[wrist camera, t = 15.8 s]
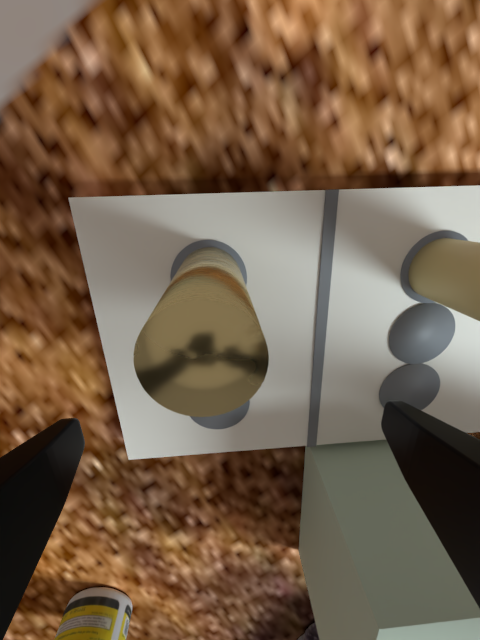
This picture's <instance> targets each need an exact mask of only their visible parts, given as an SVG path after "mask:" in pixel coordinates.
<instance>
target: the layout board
mask: <svg viewBox="0 0 480 640" xmlns="http://www.w3.org/2000/svg"><path fill="white" fill-rule="evenodd" d="M68 199H69V204H70V208H71V212H72V217H73V221H74V225H75V230H76V234H77V238H78V243H79V247H80V251H81V256H82V260H83V264H84V269H85V273H86V277H87V282H88V286H89V290H90V295H91V299H92V303H93V308H94V312H95V316H96V321H97V325H98V329H99V334H100V338H101V342H102V347H103V351H104V355H105V360H106V364H107V368H108V373H109V377H110V381H111V386H112V390H113V394H114V399H115V403H116V407H117V412H118V416H119V420H120V425H121V429H122V433H123V438H124V442H125V446H126V451H127V455H128V459H129V460H132V459H145V458H157V457H170V456H183V455H195V454H208V453H221V452H233V451H246V450H259V449H271V448H284V447H297V446H307V447H315V446H316V445H322V444H335V443H347V442H360V441H373V440H385V439H386V438H385V436H384V433H383V431H382V428H381V421H382V416H383V411H384V406H385V403H386V402H387V401H395V400H400V401H403V402H405V403H407V404H409V405H411V406H413V407H415V408H417V409H419V410H421V411H423V412H425V413H427V414H429V415H431V416H433V417H435V418H437V419H439V420H441V421H443V422H445V423H447V424H449V425H451V426H453V427H455V428H457V429H459V430H461V431H463V432H465V433H474V432H480V185H477V186H443V187H409V188H376V189H342V190H339V189H338V190H308V191H275V192H241V193H207V194H174V195H140V196H107V197H73V198H68ZM205 247H214V248H219V249H221V250H224V251H225V252H227V253H229V254H230V255H231V256H232V257H233V258H234V259H235V261H236V262H237V264H238V266H239V268H240V271H241V274H242V277H243V279H244V282H245V285H246V288H247V290H248V293H249V296H250V299H251V301H252V304H253V307H254V310H255V312H256V315H257V318H258V321H259V324H260V326H261V329H262V332H263V335H264V337H265V340H266V343H267V347H268V354H269V364H268V369H267V373H266V376H265V379H264V381H263V383H262V385H261V387H260V388H259V389H258V391H257V392H256V393H255V394H254V396H253V397H252V398H251V399H249V400H248V401H247V402H246V403H244V404H243V405H242V406H240V407H238V408H236V409H234V410H232V411H230V412H227V413H225V414H221V415H217V416H210V417H193V416H186V415H182V414H179V413H176V412H173V411H171V410H169V409H167V408H165V407H163V406H161V405H160V404H158V403H157V402H156V401H155V400H153V399H152V398H151V397H150V396H149V395H148V394H147V392H146V391H145V390H144V389H143V387H142V385H141V384H140V382H139V380H138V378H137V375H136V372H135V368H134V347H135V343H136V340H137V337H138V335H139V333H140V331H141V330H142V328H143V326H144V325H145V323H146V321H147V320H148V318H149V317H150V315H151V313H152V312H153V310H154V308H155V307H156V305H157V304H158V302H159V300H160V299H161V297H162V295H163V294H164V292H165V290H166V289H167V287H168V286H169V284H170V282H171V281H172V279H173V277H174V276H175V274H176V273H177V271H178V269H179V268H180V266H181V264H182V263H183V261H184V260H185V258H186V257H187V256H188V255H189V254H191V253H192V252H194V251H195V250H198V249H200V248H205Z"/></svg>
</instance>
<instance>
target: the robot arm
mask: <svg viewBox="0 0 480 640" xmlns="http://www.w3.org/2000/svg"><path fill="white" fill-rule="evenodd" d="M381 428H382V431H383V433H384V436H385V438H386V440H387V442H388V444H389V446H390V449H391V451H392V453H393V455H394V457H395V460H396V462H397V464H398V466H399V468H400V470H401V473H402V475H403V477H404V479H405V481H406V482H407V484H408V486H409V488H410V490H411V491H412V493H413V495H414V497H415V498H416V500H417V502H418V503H419V505H420V507H421V509H422V510H423V512H424V514H425V516H426V517H427V519H428V521H429V522H430V524H431V526H432V528H433V529H434V531H435V533H436V534H437V536H438V538H439V540H440V541H441V543H442V545H443V547H444V548H445V550H446V552H447V553H448V555H449V557H450V559H451V560H452V562H453V564H454V566H455V567H456V569H457V571H458V572H459V574H460V576H461V578H462V579H463V581H464V583H465V585H466V586H467V588H468V590H469V591H470V593H471V595H472V597H473V598H474V600H475V602H476V603H477V605H478V607H479V609H480V440H479V439H477V438H475V437H473V436H471V435H469V434H467V433H465V432H463V431H461V430H459V429H457V428H455V427H453V426H451V425H449V424H447V423H445V422H443V421H441V420H439V419H437V418H435V417H433V416H431V415H429V414H427V413H425V412H423V411H421V410H419V409H417V408H415V407H413V406H411V405H409V404H407V403H405V402H403V401H400V400H395V401H387V402H386V403H385V406H384V411H383V416H382V421H381ZM84 445H85V441H84V437H83V433H82V430H81V426H80V423H79V420H78V419H76V418H67V419H61V420H59V421H57V422H56V423H54V424H53V425H51V426H49V427H48V428H46V429H45V430H43V431H42V432H40V433H38V434H37V435H35V436H34V437H32V438H30V439H29V440H27V441H26V442H24V443H23V444H21V445H19V446H18V447H16V448H15V449H13V450H12V451H10V452H8V453H7V454H5V455H4V456H2V457H1V458H0V640H3V638H4V636H5V634H6V632H7V629H8V627H9V625H10V623H11V621H12V618H13V616H14V614H15V612H16V610H17V607H18V605H19V603H20V601H21V599H22V597H23V594H24V592H25V590H26V588H27V586H28V583H29V581H30V579H31V577H32V575H33V573H34V570H35V568H36V566H37V564H38V562H39V559H40V557H41V555H42V553H43V551H44V548H45V546H46V544H47V542H48V540H49V538H50V535H51V533H52V531H53V529H54V527H55V524H56V522H57V520H58V518H59V516H60V513H61V511H62V509H63V507H64V504H65V502H66V499H67V496H68V493H69V491H70V488H71V485H72V482H73V479H74V476H75V473H76V470H77V467H78V464H79V462H80V459H81V456H82V453H83V450H84Z"/></svg>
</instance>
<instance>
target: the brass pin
mask: <svg viewBox="0 0 480 640" xmlns="http://www.w3.org/2000/svg"><path fill="white" fill-rule="evenodd" d="M268 364H269V354H268V347H267V343H266V340H265V337H264V335H263V332H262V329H261V326H260V324H259V321H258V318H257V315H256V312H255V310H254V307H253V304H252V301H251V299H250V296H249V293H248V290H247V288H246V285H245V282H244V279H243V277H242V274H241V271H240V268H239V266H238V264H237V262H236V261H235V259H234V258H233V257H232V256H231V255H230V254H229V253H227V252H225V251H224V250H221V249H219V248H214V247H205V248H200V249H198V250H195V251H194V252H192V253H191V254H189V255H188V256H187V257H186V258H185V260H184V261H183V263H182V264H181V266H180V268H179V269H178V271H177V273H176V274H175V276H174V277H173V279H172V281H171V282H170V284H169V286H168V287H167V289H166V290H165V292H164V294H163V295H162V297H161V299H160V300H159V302H158V304H157V305H156V307H155V308H154V310H153V312H152V313H151V315H150V317H149V318H148V320H147V321H146V323H145V325H144V326H143V328H142V330H141V331H140V333H139V335H138V337H137V340H136V343H135V347H134V368H135V372H136V375H137V378H138V380H139V382H140V384H141V385H142V387H143V389H144V390H145V391H146V392H147V394H148V395H149V396H150V397H151V398H152V399H153V400H155V401H156V402H157V403H158V404H160V405H161V406H163V407H165V408H167V409H169V410H171V411H173V412H176V413H179V414H182V415H186V416H193V417H210V416H217V415H221V414H225V413H227V412H230V411H232V410H234V409H236V408H238V407H240V406H242V405H243V404H244V403H246V402H247V401H248V400H249V399H251V398H252V397H253V396H254V394H255V393H256V392H257V391H258V389H259V388H260V387H261V385H262V383H263V381H264V379H265V376H266V373H267V369H268Z"/></svg>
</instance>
